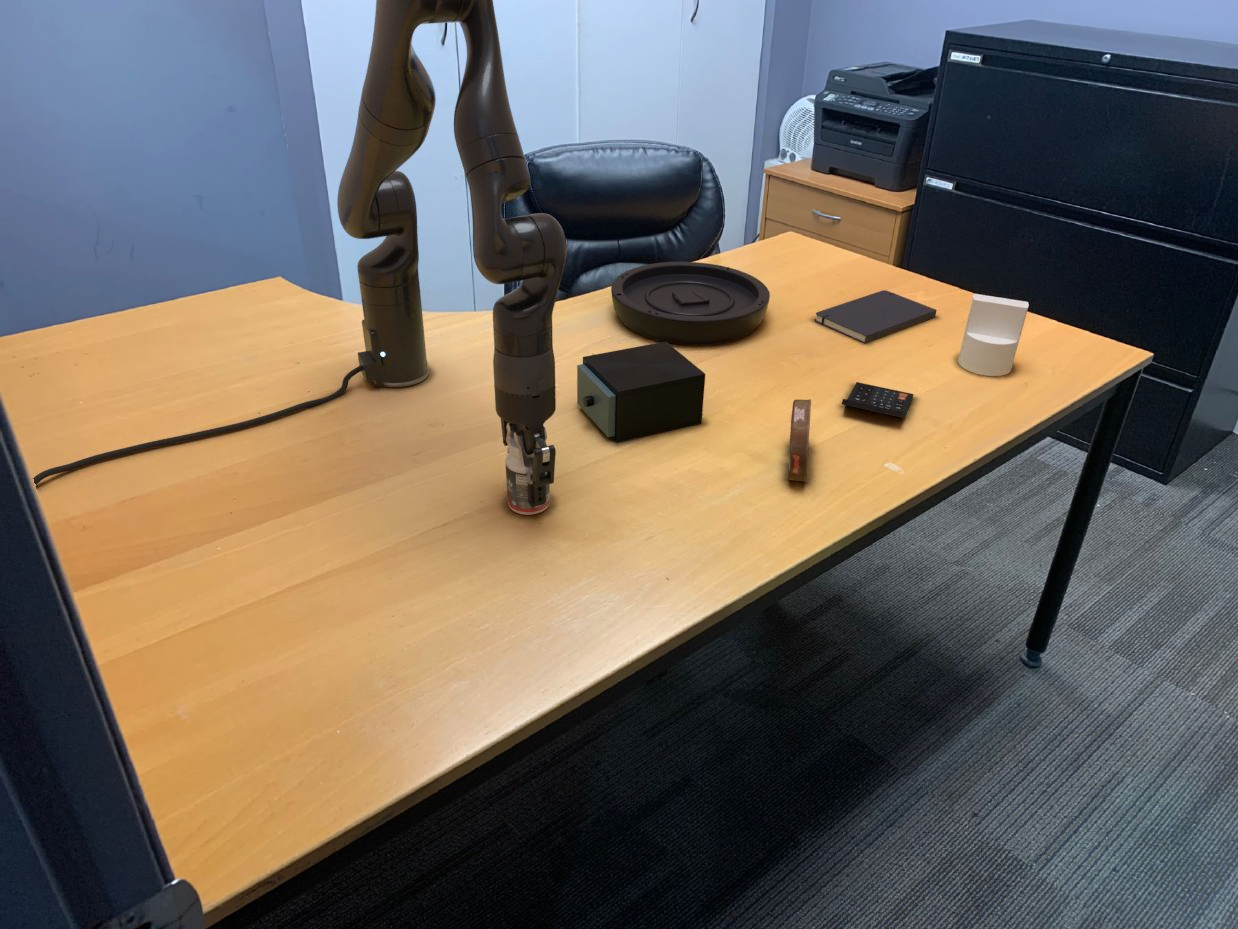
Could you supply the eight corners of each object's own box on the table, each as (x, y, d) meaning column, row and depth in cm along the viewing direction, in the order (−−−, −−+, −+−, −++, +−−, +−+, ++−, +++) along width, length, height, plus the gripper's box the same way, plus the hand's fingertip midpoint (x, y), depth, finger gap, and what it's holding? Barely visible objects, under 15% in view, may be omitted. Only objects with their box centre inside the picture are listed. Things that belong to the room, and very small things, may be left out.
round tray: (729, 281, 195) (592, 294, 187) (732, 254, 192) (592, 266, 184) (793, 339, 171) (639, 357, 163) (797, 309, 168) (640, 326, 160)
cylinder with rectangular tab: (955, 370, 162) (971, 305, 156) (960, 350, 169) (975, 287, 163) (1010, 380, 159) (1028, 314, 153) (1012, 359, 166) (1029, 295, 160)
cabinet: (616, 443, 138) (618, 391, 134) (582, 405, 148) (582, 356, 143) (701, 423, 144) (705, 373, 139) (663, 388, 154) (665, 341, 149)
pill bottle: (507, 492, 127) (504, 429, 121) (549, 491, 127) (548, 428, 122) (507, 517, 122) (503, 452, 116) (550, 516, 122) (549, 451, 117)
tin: (805, 493, 128) (813, 440, 124) (782, 490, 129) (789, 438, 124) (808, 439, 141) (816, 389, 136) (787, 436, 141) (794, 387, 137)
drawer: (600, 439, 138) (601, 398, 134) (570, 405, 146) (569, 366, 142) (687, 419, 143) (689, 380, 139) (652, 388, 152) (654, 350, 148)
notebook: (864, 343, 171) (935, 317, 182) (866, 335, 170) (936, 309, 181) (812, 320, 179) (883, 296, 190) (813, 312, 178) (884, 289, 189)
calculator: (912, 398, 153) (916, 382, 151) (899, 430, 144) (902, 413, 142) (855, 386, 156) (858, 370, 154) (839, 416, 147) (842, 399, 145)
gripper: (476, 359, 118) (483, 471, 127) (516, 409, 107) (521, 528, 116) (531, 349, 121) (535, 459, 130) (576, 397, 110) (576, 514, 119)
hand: (528, 491), depth 123 cm, fingers closed on pill bottle, 5 cm apart
